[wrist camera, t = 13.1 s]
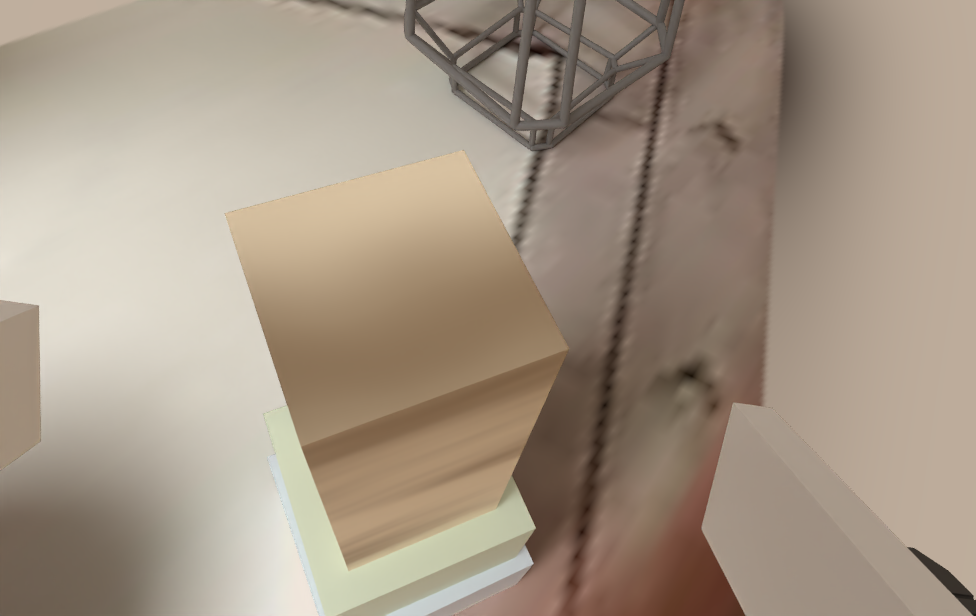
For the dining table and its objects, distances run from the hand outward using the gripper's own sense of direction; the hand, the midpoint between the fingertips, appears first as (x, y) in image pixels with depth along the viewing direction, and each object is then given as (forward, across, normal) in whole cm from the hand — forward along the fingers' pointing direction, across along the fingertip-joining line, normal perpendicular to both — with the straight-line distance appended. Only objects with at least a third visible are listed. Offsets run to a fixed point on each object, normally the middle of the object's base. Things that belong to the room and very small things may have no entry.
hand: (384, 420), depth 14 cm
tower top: (+13, 0, -9) cm, 16 cm away
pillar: (+9, 0, -6) cm, 11 cm away
